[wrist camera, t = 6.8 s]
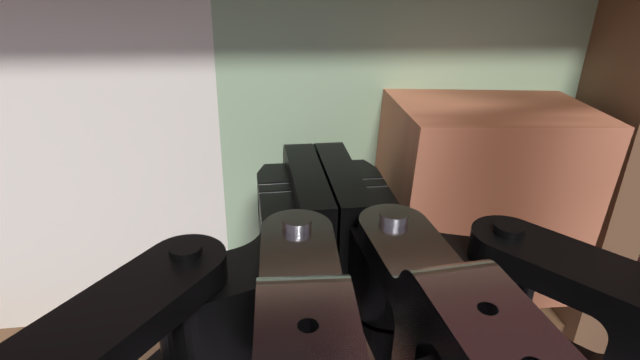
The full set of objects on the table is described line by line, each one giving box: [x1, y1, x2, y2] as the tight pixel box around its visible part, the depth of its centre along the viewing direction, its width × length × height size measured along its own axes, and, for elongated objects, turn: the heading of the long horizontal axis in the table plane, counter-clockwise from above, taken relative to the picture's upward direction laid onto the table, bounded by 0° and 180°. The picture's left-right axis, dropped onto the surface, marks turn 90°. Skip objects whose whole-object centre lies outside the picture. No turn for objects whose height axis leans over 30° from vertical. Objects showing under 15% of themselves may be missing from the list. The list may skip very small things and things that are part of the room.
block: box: [375, 89, 635, 308], centre depth 13 cm, size 5×5×3 cm
